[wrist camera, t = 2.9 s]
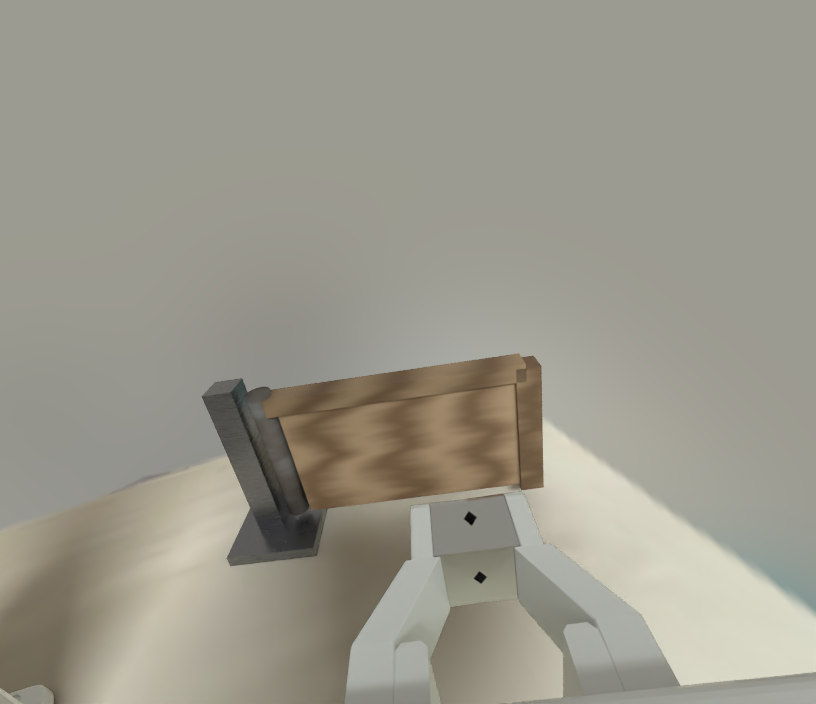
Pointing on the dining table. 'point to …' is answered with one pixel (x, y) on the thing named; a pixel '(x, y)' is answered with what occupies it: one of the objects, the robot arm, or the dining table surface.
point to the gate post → (258, 485)
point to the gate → (404, 433)
